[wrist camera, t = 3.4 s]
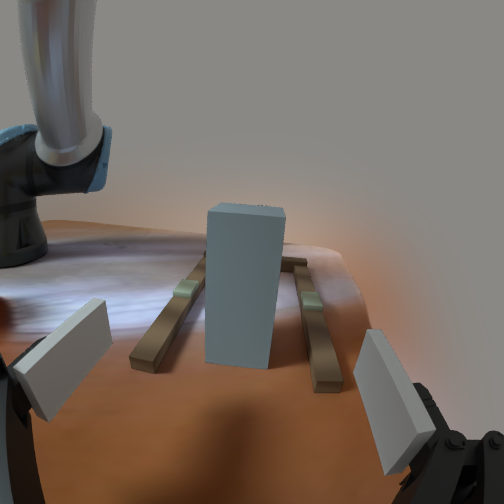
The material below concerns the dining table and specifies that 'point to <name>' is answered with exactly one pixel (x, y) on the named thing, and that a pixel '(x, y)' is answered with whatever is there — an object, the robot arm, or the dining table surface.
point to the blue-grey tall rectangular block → (242, 282)
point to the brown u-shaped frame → (311, 307)
